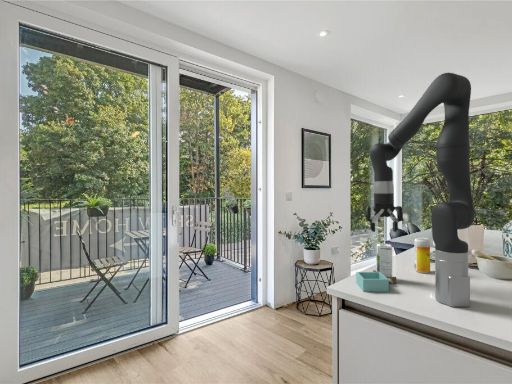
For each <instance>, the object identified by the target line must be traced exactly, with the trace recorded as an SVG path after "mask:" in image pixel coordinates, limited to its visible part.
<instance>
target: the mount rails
mask: <svg viewBox="0 0 512 384" xmlns="http://www.w3.org/2000/svg"><path fill="white" fill-rule="evenodd" d="M372 272H376V270H375V269H374V270H373V271H372ZM386 278H388V279H389V284H397V277H396V276H392V277H386Z"/></svg>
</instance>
